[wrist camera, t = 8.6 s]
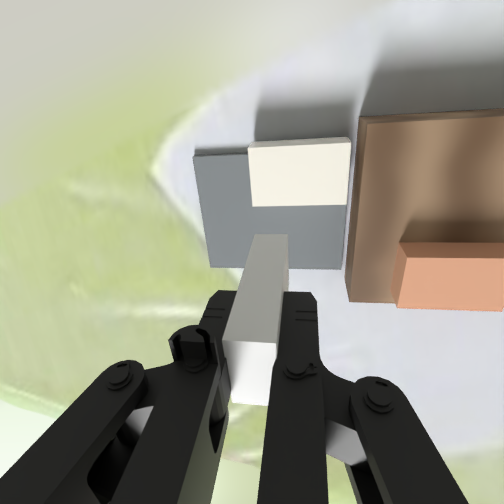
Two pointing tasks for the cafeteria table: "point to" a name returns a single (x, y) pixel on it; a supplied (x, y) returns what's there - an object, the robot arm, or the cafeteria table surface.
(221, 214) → the mat
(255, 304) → the robot arm
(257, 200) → the cream tile
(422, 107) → the cafeteria table surface
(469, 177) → the deck
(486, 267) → the terracotta tile
